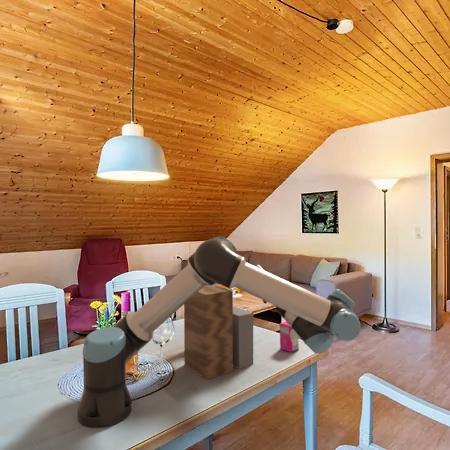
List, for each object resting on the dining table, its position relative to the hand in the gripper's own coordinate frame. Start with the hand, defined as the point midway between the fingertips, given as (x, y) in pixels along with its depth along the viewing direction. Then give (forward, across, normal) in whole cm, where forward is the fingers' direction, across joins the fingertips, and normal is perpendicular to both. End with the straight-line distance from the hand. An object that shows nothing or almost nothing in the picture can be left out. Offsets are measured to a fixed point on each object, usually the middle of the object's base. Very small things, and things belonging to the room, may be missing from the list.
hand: (252, 268), depth 132 cm
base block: (-11, 0, -38) cm, 39 cm away
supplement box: (-14, +25, -36) cm, 46 cm away
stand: (-10, -13, -38) cm, 42 cm away
